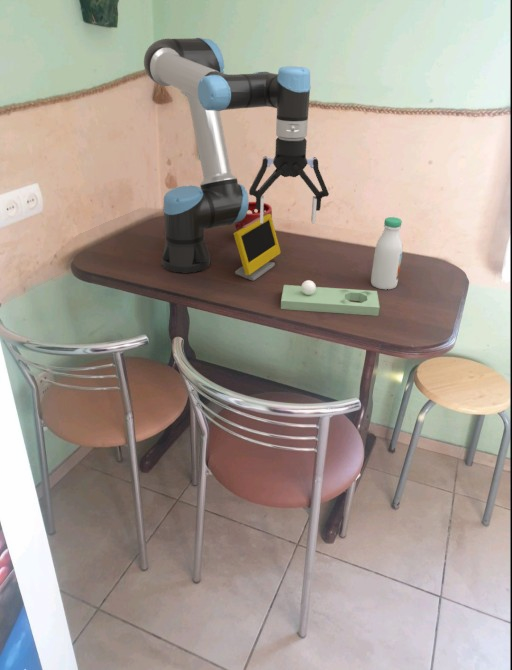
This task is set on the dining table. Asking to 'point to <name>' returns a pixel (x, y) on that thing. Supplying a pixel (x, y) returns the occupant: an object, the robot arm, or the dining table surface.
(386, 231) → the milk bottle
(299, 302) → the putting strip
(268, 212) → the plant pot
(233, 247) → the dining table surface
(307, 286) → the ball
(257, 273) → the yellow framed monitor
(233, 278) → the dining table surface
